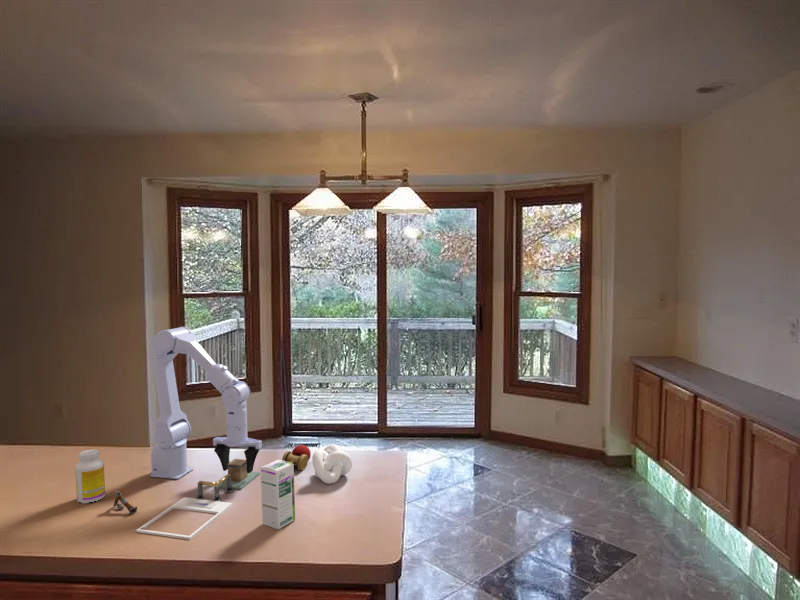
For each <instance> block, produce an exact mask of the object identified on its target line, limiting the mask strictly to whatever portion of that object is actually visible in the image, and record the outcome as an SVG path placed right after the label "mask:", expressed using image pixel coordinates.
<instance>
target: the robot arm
mask: <svg viewBox="0 0 800 600" xmlns="http://www.w3.org/2000/svg"><path fill="white" fill-rule="evenodd" d="M152 344H153V349H152V354H151V358H152V359H151V361H152V367H153V372H154V373H153V374H154V381H155V386H156V394H157V401H158V406H159V414H160V415H159V417H158V418H157V420H156V421H155V423H154V428H155V429H154V430H155V431H154V432H153V433H154V434H153V439H154V442H155V444H156V445H154V446H153V448H152V450H151V454H150V456H151V457H150V458H151V459H150V460H151V474H149V477H150V478H151V477H153V478H161V479H171V480H179V479H180V478H182V477H184V476H186V475H187V474H189V473H190V472H191V471H193V470H194V467H191V466H190V467H189V466H188V459H187V457H188V454H187V451H188V450H187V441H188V438H189V436H190V435H191V433H192V427H191V424H190V422H189V420H188V417H187V414H186V413H185V412H183V411H182V410H181V407H180V401H179V400H180V399H179V398H180V397H179V394H178V393H179V392H178V386H177V380H176V372H175V366H174V359H175V358H176V357H177V356H178V354H185V355H188V357H190V358H191V359H192V360H193V361H194V362H195V363H196V364H198V366H199V367H200V368H202V369H203V370H204V371H205V372H206V377H205V378H206V379H207V381H209V383H211V384H212V385H213V387H215V388H216V390H217V391H218V392H219V393H220V394H221V397H220V398H221V400H222V403H223V404H224V407H225V412H226V413H225V417H226V421H225V422H226V436H216V437H214V438H213V439H212V445H213V446H216V447H215V448H213V449H214V453H215V454H216V455H217V457H218V459H219V462H220V465H221V467H222V471H223V472H226V471H228V463H230V453H231V448H233V447H239V448H246V449H245V450H243V452H244V456H245V460H246V462H247V473H250V472H254V471H253V470H254V465H255V461H256V459H257V455H258V453H259V451H260V449H261V448H262V446H263V445H262V444H263V441H262V440H261V439H255V438H250V437H248V409H247V407H248V402H247V400H248V399H249V398H250V396H251V388H250V387H249V386H248V385H249V384H248V383H247V382H245V381H241V380H239V379H238V378H236V377H235V376H234V375H233V374H232V372H230V371H229V368H228V366H226V365H224V364H223V363H221V364H220V363H216V362H215V361H214V360H213V358H212V357H211V356H210V354H209V353H208V352H207V351H206V350H205V348H204V347H203V346H202V345H201V344H200V343H199V342H198V339H197V336H196V334H195V333H193V332H192V331H191V329H190V328H189V327H187V326H179V327H175V328H171V329H162V330H159V331H158V332H157V333H156V334H155V335H154V337H153V338H152Z"/></svg>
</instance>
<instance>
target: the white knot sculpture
mask: <svg viewBox="0 0 800 600" xmlns="http://www.w3.org/2000/svg"><path fill="white" fill-rule="evenodd" d="M312 465H313V470H314V475H315V476H316V477H317V478H318V479H320V480H321V481H322V482H323V483H325V484H327V485H331V484H332V483H333V484H335V483H336V482H338V480H340V479H339V478H340V477H343V476H345V475H346V476H347V474H349V473H350V472H351V469H352V468H353V460H352V457H351V456H350V455H349V454H348V453H347V452H345V451H341V448H340V447H339V446H338V445H337V444H333V443H331V444H329V445H328V446H326V447H324V449H320V448H319V449H317V450H315V451H314V452H313V454H312ZM342 475H343V476H342Z"/></svg>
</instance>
